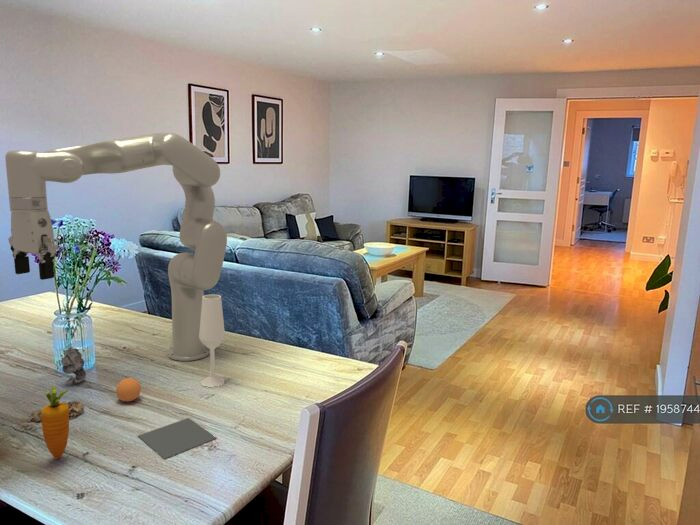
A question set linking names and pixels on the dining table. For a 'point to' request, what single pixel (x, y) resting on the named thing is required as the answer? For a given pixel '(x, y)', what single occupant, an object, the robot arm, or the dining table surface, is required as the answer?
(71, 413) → the mineral rock
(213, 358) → the champagne flute
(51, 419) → the carrot
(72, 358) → the seashell
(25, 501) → the dining table surface
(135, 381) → the ball
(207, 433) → the slate mark
